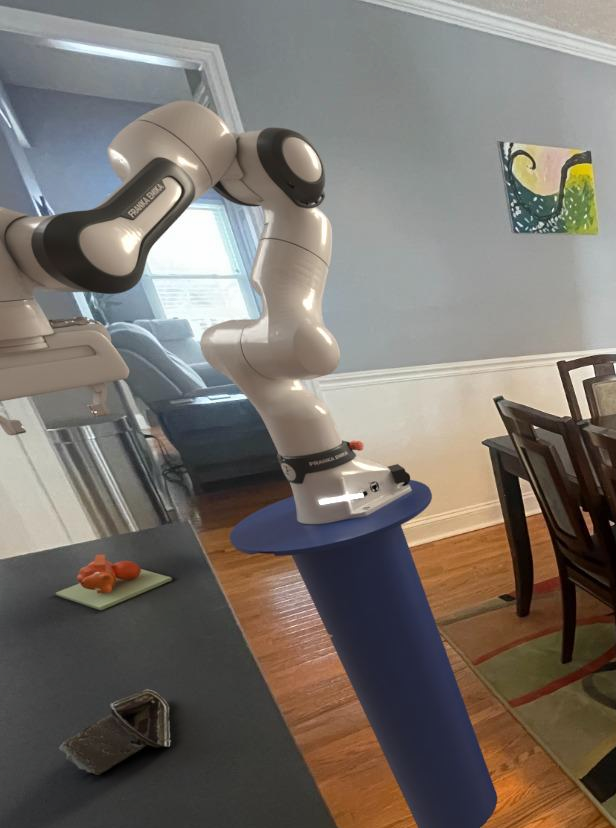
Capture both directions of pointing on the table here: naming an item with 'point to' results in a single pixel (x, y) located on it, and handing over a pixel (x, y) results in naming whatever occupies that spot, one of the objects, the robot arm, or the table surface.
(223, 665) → the table surface
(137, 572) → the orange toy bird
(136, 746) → the brown hollow wedge shell
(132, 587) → the place mat
